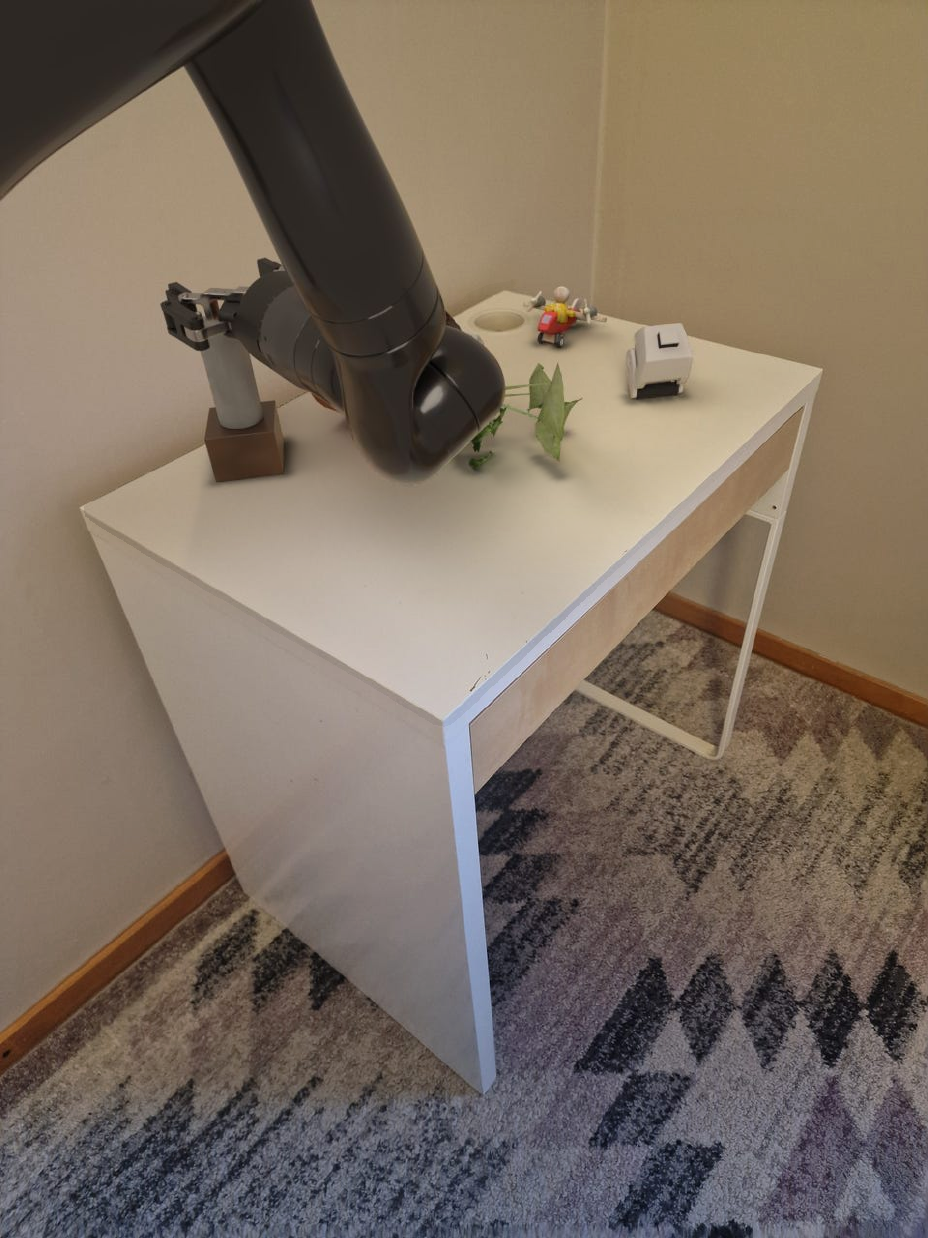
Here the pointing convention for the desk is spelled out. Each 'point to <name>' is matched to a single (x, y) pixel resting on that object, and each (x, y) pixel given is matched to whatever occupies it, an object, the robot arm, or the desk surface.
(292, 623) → the desk surface
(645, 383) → the white boxy gadget
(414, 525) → the desk surface
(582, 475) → the desk surface
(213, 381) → the grey cylindrical cup
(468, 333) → the grey rock
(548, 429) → the potted plant
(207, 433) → the block
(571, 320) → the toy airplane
